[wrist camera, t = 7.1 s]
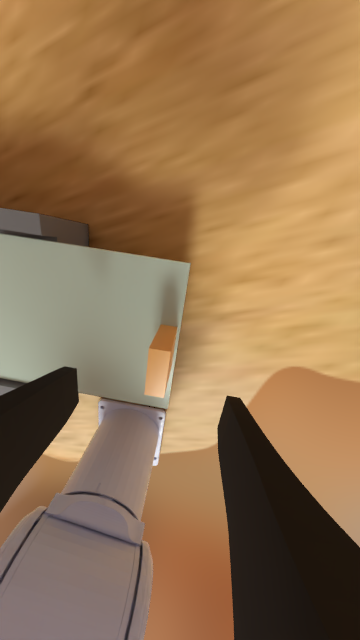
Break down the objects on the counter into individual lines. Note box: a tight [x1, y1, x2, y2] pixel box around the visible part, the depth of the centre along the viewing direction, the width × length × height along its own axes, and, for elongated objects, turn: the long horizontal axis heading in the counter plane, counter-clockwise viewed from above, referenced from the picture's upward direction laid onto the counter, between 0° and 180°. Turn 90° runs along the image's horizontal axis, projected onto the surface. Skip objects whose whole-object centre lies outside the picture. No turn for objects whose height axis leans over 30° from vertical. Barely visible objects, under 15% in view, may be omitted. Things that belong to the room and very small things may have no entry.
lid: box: [0, 233, 191, 409], centre depth 13 cm, size 12×17×4 cm
